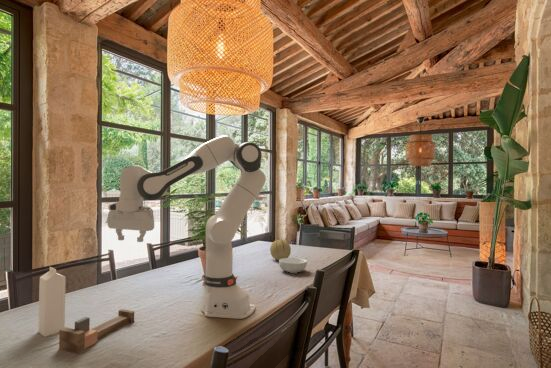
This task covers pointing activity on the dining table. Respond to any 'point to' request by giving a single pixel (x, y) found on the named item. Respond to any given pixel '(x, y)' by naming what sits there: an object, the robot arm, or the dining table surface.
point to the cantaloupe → (280, 249)
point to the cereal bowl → (292, 264)
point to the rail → (76, 338)
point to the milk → (51, 303)
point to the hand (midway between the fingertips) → (130, 240)
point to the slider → (86, 331)
